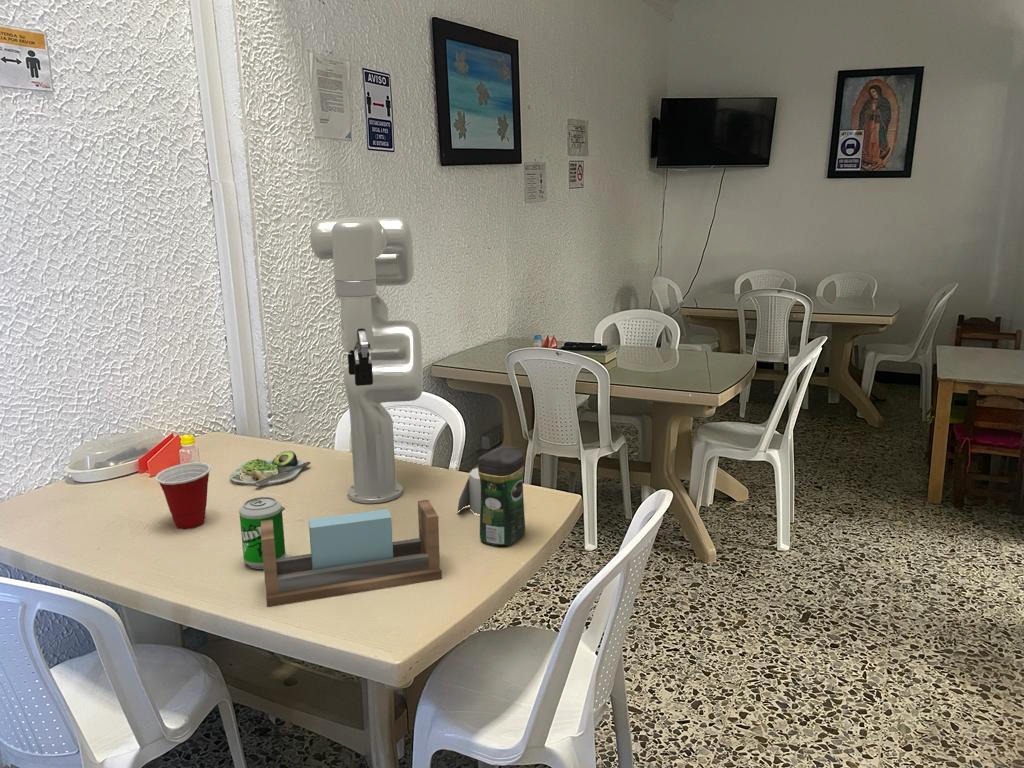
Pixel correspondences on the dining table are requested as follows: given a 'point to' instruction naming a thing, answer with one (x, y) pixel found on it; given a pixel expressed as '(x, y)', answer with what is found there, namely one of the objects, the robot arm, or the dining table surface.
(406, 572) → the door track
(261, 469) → the salad plate
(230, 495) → the dining table surface
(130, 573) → the dining table surface
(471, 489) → the toilet tissue
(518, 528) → the coffee jar
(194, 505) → the plastic cup
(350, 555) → the door panel
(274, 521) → the soda can
